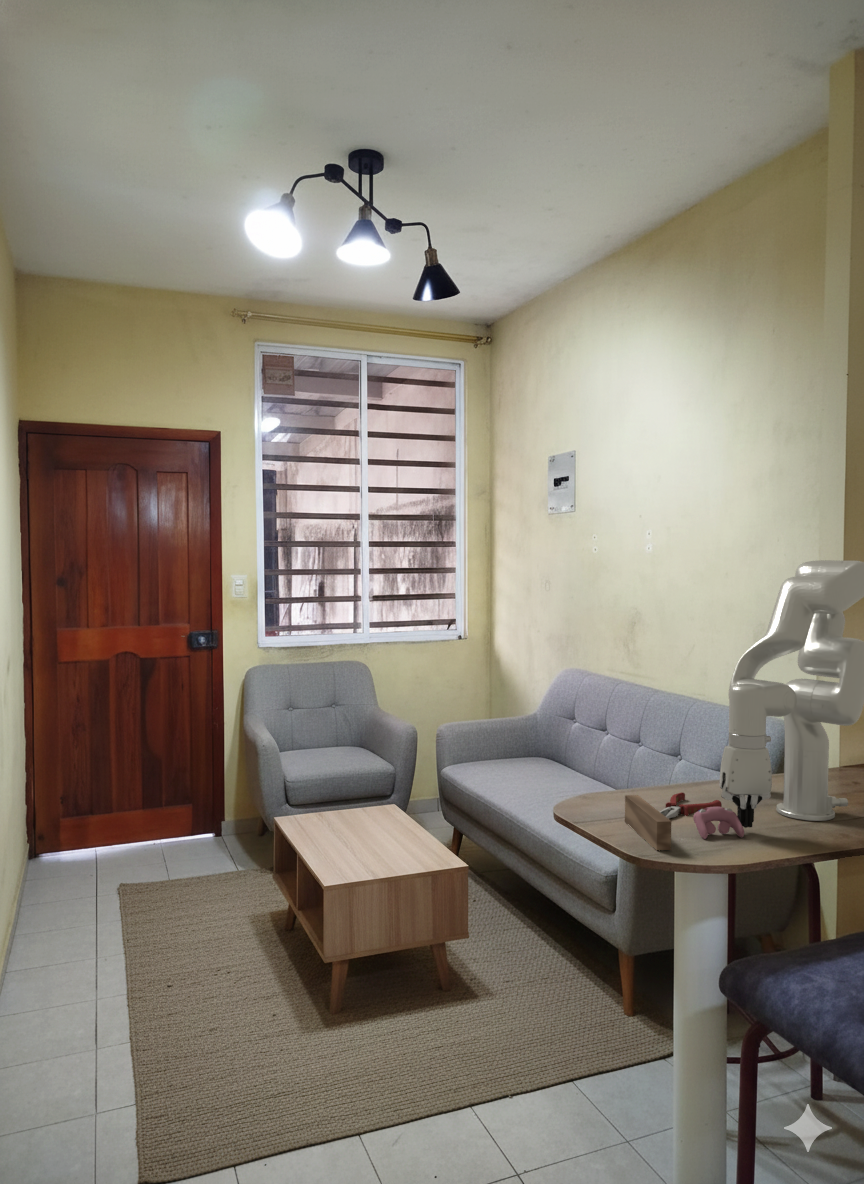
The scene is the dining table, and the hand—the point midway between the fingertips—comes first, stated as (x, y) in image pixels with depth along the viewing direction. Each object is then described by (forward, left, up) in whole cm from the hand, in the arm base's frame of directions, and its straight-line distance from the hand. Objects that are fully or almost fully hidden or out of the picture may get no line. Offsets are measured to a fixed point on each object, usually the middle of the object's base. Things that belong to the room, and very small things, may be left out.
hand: (745, 825), depth 185 cm
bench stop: (+22, 0, -2) cm, 22 cm away
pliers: (+7, -19, -3) cm, 21 cm away
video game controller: (+7, +1, -2) cm, 7 cm away
